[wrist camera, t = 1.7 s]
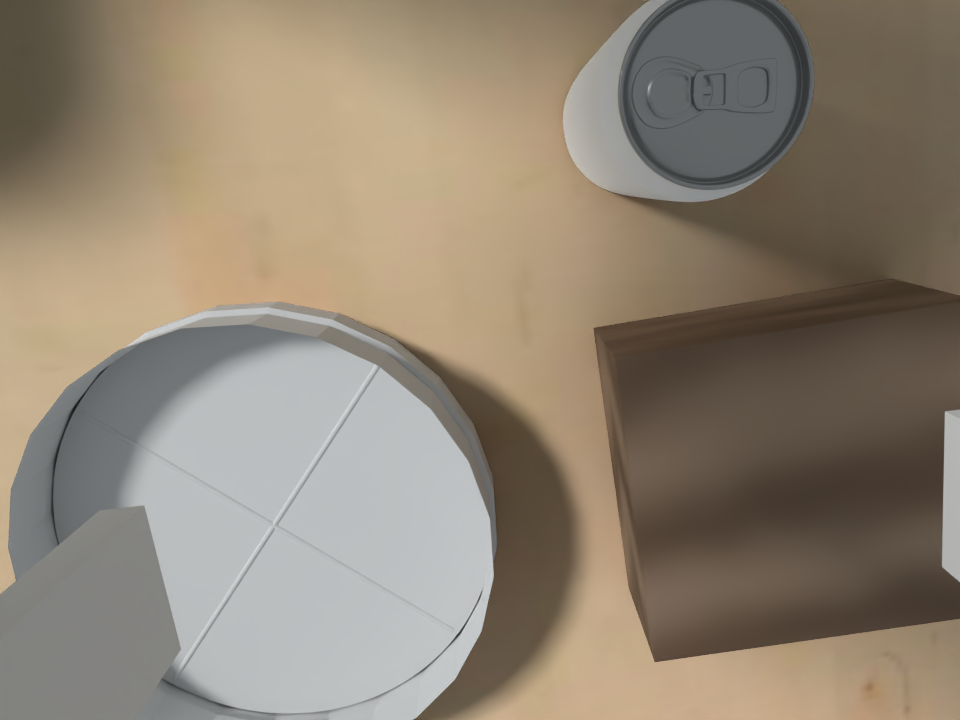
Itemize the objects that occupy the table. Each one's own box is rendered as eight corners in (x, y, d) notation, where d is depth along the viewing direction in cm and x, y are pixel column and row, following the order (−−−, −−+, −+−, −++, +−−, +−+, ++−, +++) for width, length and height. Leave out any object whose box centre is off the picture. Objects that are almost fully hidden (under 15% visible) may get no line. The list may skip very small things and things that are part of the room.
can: (558, 48, 32) (600, -27, 20) (707, 37, 32) (835, -44, 20) (563, 200, 33) (606, 212, 22) (706, 190, 33) (825, 197, 22)
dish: (193, 207, 34) (145, 212, 29) (582, 456, 37) (597, 497, 32) (-7, 566, 39) (-77, 622, 34) (354, 763, 41) (336, 841, 36)
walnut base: (593, 328, 35) (615, 357, 29) (891, 278, 34) (975, 299, 28) (629, 588, 38) (654, 662, 32) (901, 547, 38) (978, 615, 32)
